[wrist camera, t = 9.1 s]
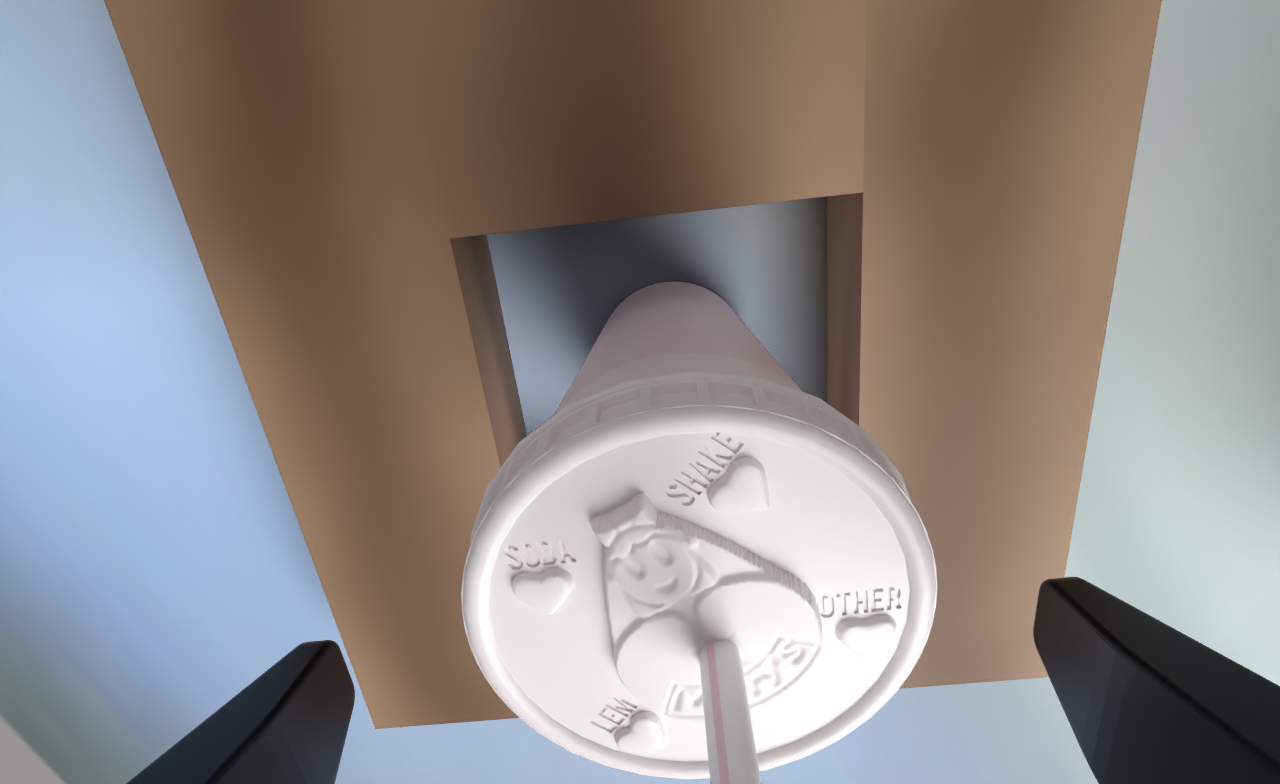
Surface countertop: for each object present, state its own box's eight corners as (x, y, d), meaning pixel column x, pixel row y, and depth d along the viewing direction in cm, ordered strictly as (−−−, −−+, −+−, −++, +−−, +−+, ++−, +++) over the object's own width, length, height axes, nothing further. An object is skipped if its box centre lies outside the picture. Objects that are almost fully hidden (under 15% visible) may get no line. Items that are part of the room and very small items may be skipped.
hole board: (1083, -124, 14) (1189, -168, 11) (996, 598, 22) (1047, 677, 19) (196, -7, 15) (96, -22, 12) (408, 647, 22) (375, 728, 20)
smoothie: (633, 499, 20) (612, 1252, 7) (495, 313, 18) (127, 935, 5) (842, 388, 19) (1262, 1089, 6) (720, 171, 16) (979, 551, 4)
